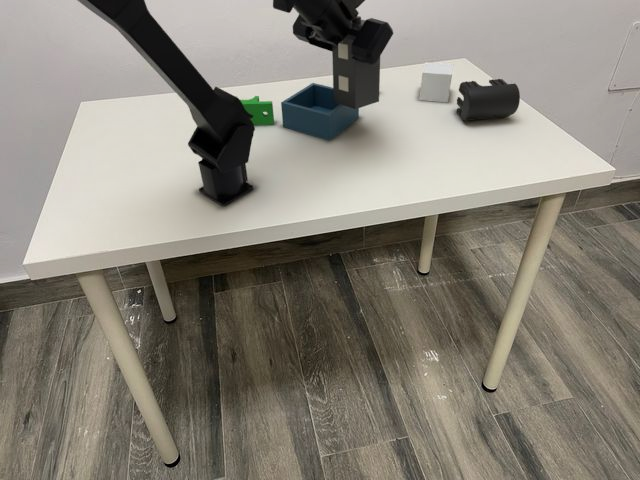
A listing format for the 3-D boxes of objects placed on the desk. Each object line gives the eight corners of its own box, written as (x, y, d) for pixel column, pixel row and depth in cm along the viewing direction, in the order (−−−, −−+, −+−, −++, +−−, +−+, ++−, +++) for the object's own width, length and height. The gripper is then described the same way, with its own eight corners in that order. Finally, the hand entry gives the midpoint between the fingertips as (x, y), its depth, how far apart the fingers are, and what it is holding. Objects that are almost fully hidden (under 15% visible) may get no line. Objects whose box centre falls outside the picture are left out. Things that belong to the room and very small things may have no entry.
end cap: (465, 127, 92) (472, 94, 88) (453, 111, 98) (458, 79, 93) (514, 123, 93) (523, 89, 89) (499, 107, 98) (507, 75, 94)
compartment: (329, 140, 90) (329, 115, 86) (282, 126, 94) (280, 102, 91) (358, 117, 96) (359, 93, 93) (313, 105, 101) (312, 82, 98)
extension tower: (354, 109, 85) (354, 21, 77) (332, 102, 89) (330, 17, 81) (379, 101, 88) (381, 16, 80) (356, 94, 92) (357, 12, 84)
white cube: (447, 102, 101) (452, 74, 97) (419, 100, 102) (422, 72, 98) (449, 91, 105) (453, 64, 101) (421, 89, 107) (425, 62, 103)
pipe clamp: (275, 116, 98) (273, 95, 95) (273, 125, 95) (272, 103, 92) (221, 117, 98) (218, 95, 95) (218, 125, 95) (214, 103, 92)
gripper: (390, -37, 66) (429, 29, 79) (302, -53, 77) (349, 8, 89) (348, 34, 67) (393, 88, 80) (268, 9, 78) (319, 61, 90)
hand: (362, 58), depth 85 cm, fingers closed on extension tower, 7 cm apart
